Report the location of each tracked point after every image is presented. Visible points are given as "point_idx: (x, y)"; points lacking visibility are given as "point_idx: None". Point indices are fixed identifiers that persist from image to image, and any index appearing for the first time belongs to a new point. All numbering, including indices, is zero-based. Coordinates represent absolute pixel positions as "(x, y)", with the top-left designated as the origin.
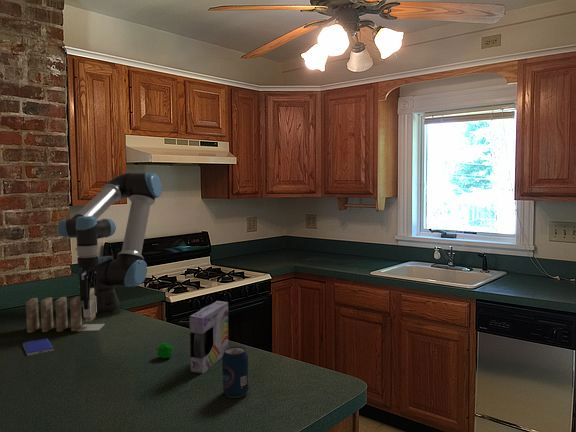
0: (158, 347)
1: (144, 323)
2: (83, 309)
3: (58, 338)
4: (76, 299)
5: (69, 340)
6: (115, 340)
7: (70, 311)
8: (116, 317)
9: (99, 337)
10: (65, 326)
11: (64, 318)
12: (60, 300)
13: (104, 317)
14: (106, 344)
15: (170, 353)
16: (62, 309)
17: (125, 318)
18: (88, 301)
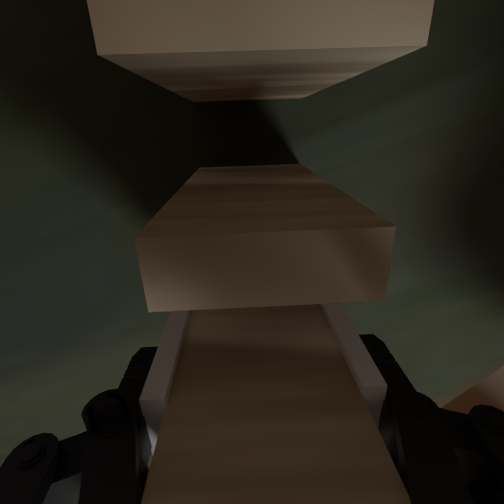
0: None
1: None
2: (165, 330)
3: (42, 145)
4: (203, 308)
5: (21, 229)
6: (65, 418)
7: (174, 195)
8: (435, 325)
9: (95, 352)
10: (257, 98)
11: (249, 92)
12: (114, 46)
13: (459, 265)
14: (8, 404)
15: None
16: (204, 80)
17: (401, 368)
18: (153, 436)
